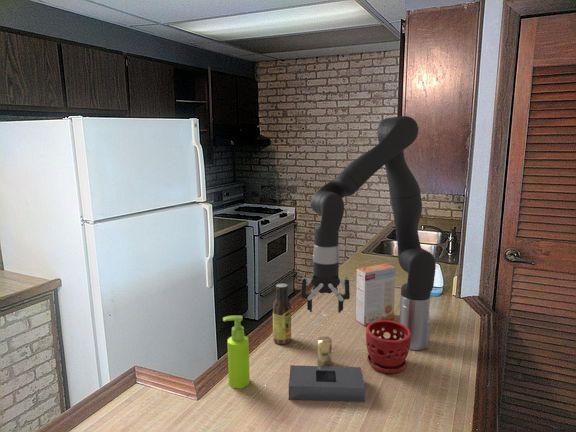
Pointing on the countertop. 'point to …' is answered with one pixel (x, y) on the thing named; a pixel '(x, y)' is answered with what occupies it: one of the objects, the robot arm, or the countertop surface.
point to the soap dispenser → (238, 354)
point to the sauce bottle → (281, 316)
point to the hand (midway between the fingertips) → (324, 311)
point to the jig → (326, 383)
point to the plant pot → (387, 346)
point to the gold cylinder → (324, 351)
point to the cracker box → (375, 293)
